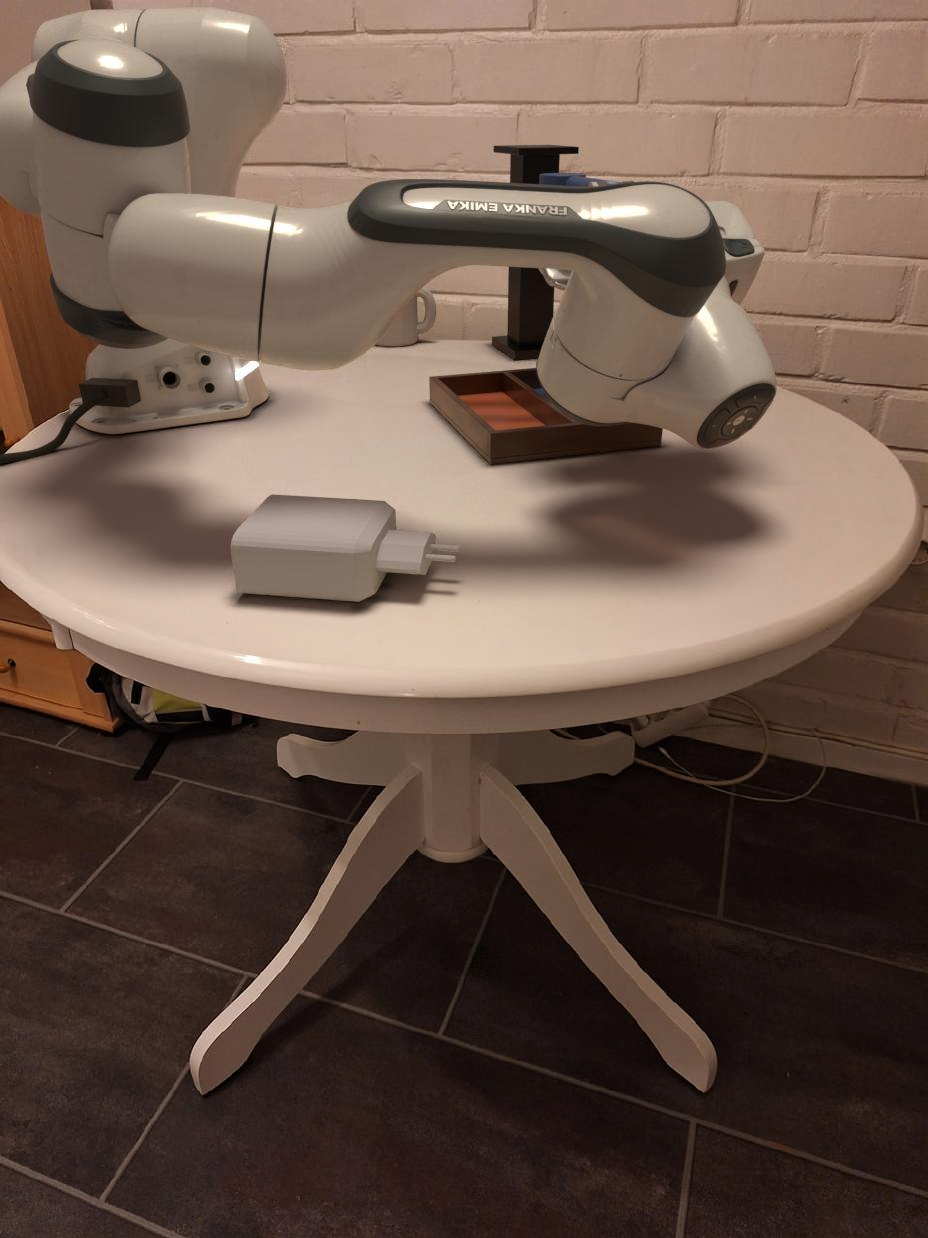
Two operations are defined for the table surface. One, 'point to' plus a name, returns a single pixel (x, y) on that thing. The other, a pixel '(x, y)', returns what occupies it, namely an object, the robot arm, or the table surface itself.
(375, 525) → the charger
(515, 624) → the table surface
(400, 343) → the cup
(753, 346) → the robot arm
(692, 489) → the table surface
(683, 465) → the table surface
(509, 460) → the sorting tray
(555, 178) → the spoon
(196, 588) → the table surface
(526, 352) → the spoon stand
